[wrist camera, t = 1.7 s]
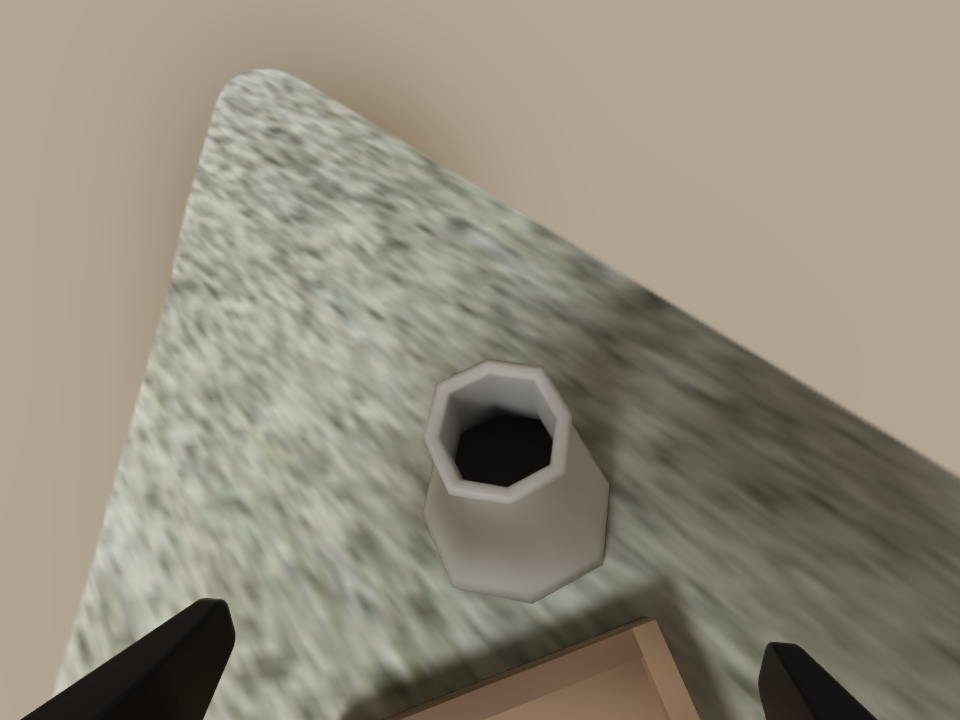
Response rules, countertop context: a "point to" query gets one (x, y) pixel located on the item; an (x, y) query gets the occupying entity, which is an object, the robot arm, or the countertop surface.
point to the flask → (511, 484)
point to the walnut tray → (578, 684)
